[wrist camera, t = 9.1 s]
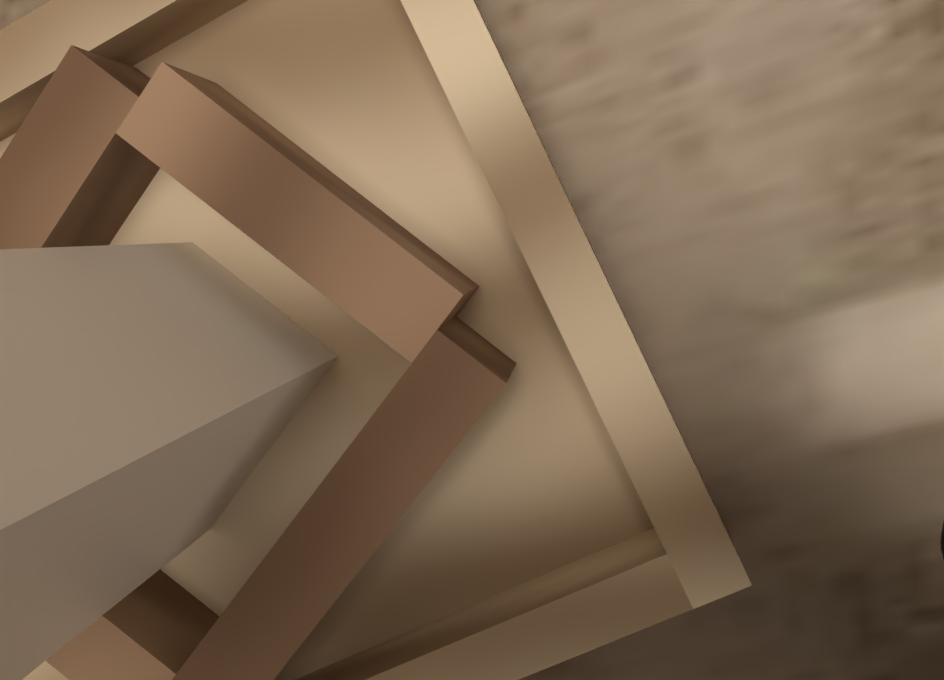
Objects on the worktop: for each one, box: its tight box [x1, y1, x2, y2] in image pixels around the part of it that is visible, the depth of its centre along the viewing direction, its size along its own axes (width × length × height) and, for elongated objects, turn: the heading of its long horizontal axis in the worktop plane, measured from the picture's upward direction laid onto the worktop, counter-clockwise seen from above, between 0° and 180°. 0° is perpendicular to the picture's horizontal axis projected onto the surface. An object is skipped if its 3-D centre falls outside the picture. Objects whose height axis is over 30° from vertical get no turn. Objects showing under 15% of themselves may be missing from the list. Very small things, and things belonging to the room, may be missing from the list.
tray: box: [0, 0, 752, 680], centre depth 19 cm, size 16×18×3 cm
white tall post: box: [0, 242, 338, 680], centre depth 13 cm, size 4×5×14 cm
